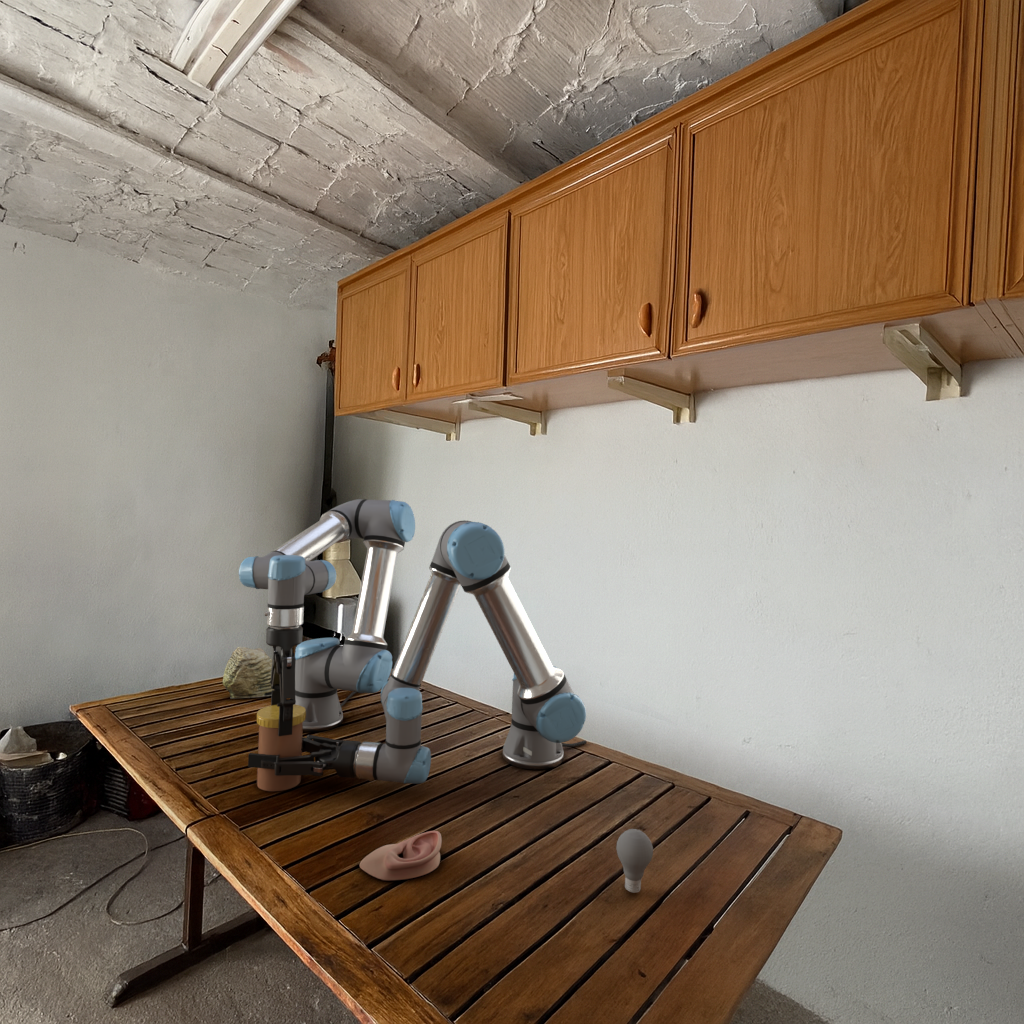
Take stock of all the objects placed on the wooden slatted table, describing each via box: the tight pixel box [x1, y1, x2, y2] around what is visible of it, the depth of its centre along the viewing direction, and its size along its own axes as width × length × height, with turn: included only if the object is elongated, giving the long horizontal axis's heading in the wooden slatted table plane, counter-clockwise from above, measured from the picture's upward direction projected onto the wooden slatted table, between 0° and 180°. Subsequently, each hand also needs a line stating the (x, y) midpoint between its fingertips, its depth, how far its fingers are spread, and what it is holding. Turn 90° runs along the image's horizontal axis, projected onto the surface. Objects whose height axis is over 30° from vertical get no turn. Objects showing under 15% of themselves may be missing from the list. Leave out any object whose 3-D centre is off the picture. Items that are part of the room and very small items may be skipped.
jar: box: [256, 722, 304, 792], centre depth 140 cm, size 9×9×15 cm
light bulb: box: [615, 828, 654, 894], centre depth 106 cm, size 6×6×10 cm
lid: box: [255, 704, 306, 728], centre depth 139 cm, size 10×10×2 cm
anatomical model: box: [359, 830, 443, 882], centre depth 111 cm, size 13×4×12 cm
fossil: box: [222, 646, 274, 699], centre depth 198 cm, size 9×18×15 cm, turn 132°
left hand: (281, 726), depth 140 cm, fingers closed on lid, 10 cm apart
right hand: (260, 750), depth 140 cm, fingers closed on jar, 9 cm apart
